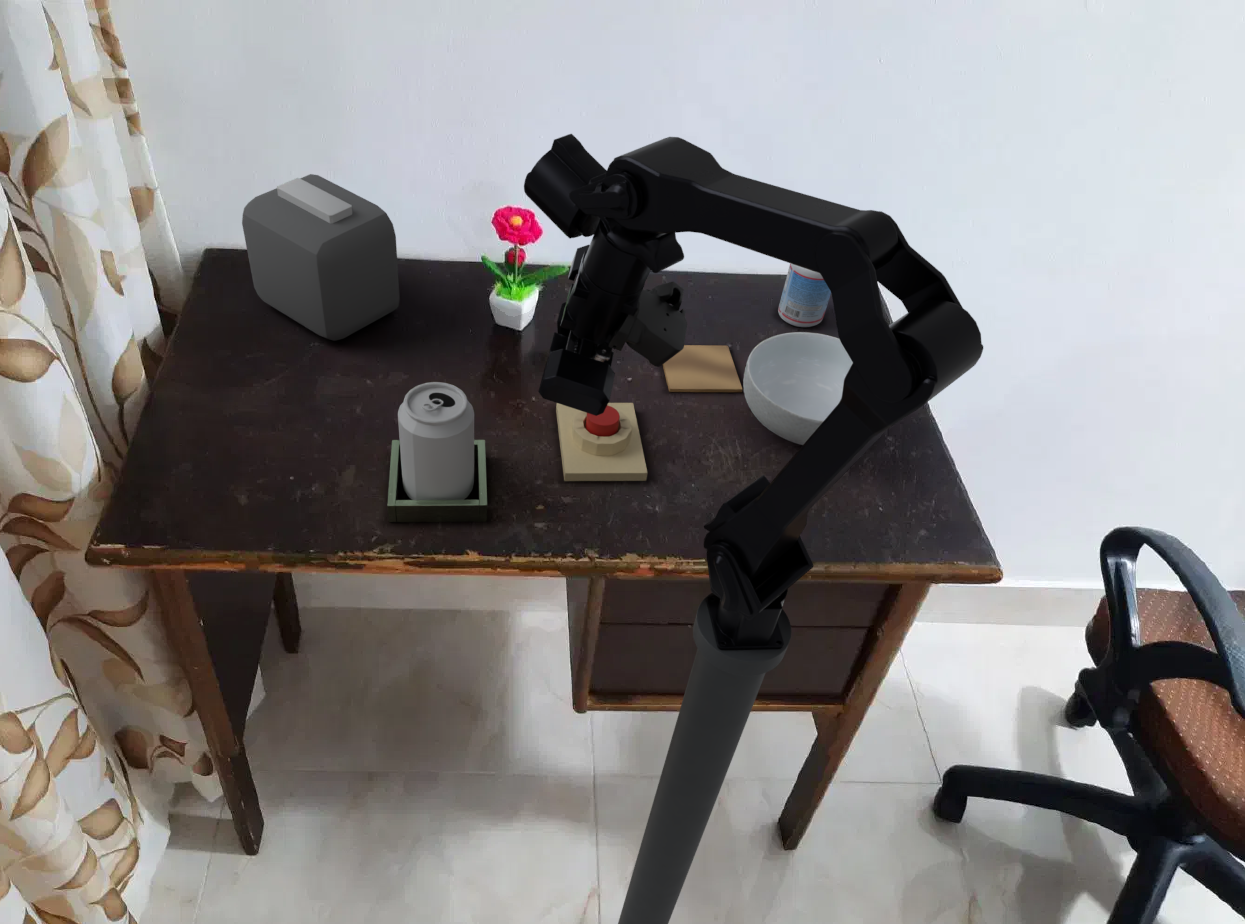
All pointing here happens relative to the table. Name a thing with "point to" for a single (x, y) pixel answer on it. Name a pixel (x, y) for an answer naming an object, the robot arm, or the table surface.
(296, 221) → the alarm clock
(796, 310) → the pill bottle
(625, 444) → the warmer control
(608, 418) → the stop button
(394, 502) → the grey-green square frame
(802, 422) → the cereal bowl
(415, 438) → the can
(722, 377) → the cork coaster
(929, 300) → the robot arm
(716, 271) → the table surface
